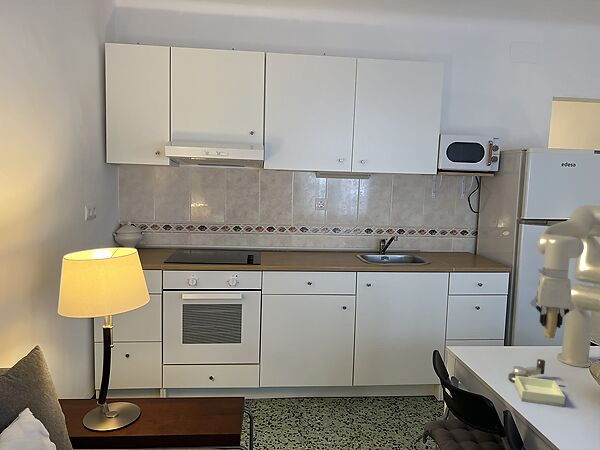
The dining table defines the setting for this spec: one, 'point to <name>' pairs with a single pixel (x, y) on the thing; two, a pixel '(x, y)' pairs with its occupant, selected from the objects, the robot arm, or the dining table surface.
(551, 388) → the tray
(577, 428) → the dining table surface
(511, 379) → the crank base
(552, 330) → the handle
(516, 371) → the crank
